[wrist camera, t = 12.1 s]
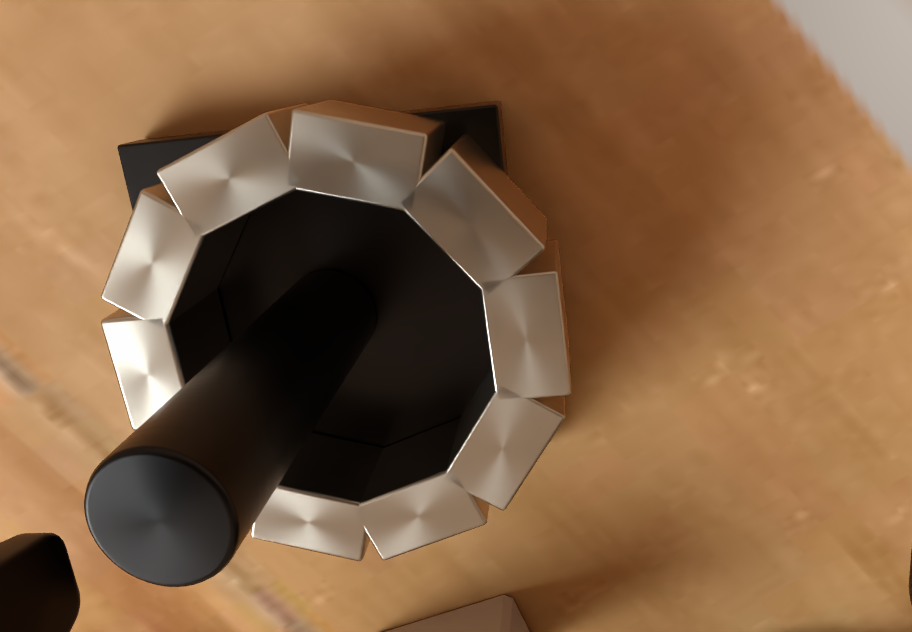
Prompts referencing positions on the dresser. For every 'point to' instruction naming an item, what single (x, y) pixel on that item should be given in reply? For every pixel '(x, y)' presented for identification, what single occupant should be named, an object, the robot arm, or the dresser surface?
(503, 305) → the ring
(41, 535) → the robot arm
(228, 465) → the post
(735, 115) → the dresser surface
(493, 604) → the lighter
